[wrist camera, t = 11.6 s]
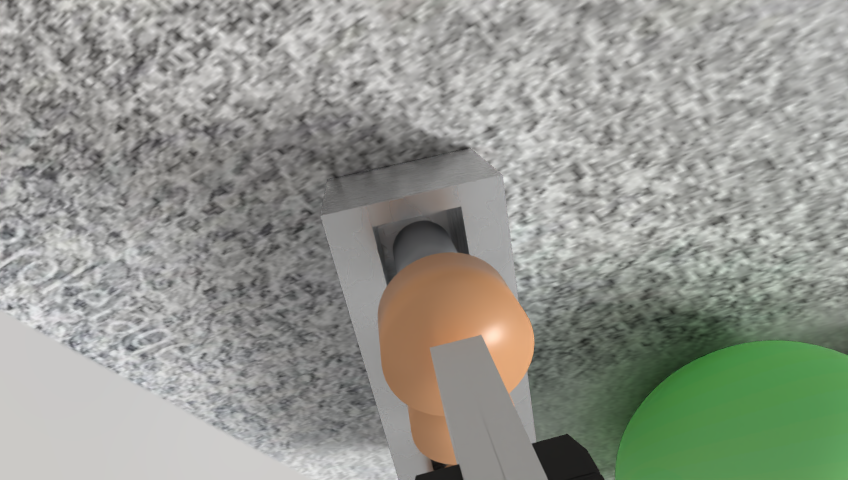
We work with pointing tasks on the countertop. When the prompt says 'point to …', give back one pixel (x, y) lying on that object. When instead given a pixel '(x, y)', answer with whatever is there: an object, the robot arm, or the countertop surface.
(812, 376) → the toy bird
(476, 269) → the knob
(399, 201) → the mount
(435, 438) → the knob middle
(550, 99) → the countertop surface
